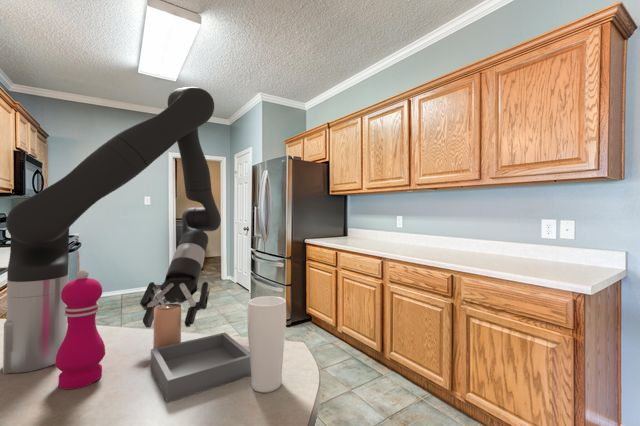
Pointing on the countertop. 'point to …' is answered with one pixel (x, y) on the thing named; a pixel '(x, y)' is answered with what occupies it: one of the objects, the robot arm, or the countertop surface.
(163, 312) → the terracotta cup
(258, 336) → the drinking glass
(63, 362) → the pepper mill
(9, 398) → the countertop surface
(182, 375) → the charcoal tray
